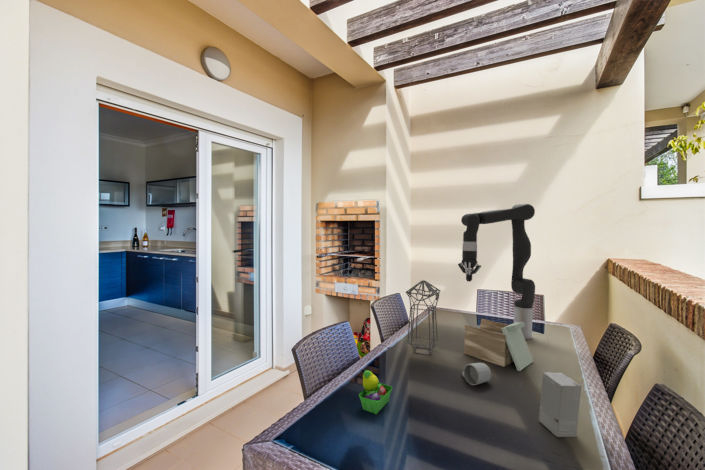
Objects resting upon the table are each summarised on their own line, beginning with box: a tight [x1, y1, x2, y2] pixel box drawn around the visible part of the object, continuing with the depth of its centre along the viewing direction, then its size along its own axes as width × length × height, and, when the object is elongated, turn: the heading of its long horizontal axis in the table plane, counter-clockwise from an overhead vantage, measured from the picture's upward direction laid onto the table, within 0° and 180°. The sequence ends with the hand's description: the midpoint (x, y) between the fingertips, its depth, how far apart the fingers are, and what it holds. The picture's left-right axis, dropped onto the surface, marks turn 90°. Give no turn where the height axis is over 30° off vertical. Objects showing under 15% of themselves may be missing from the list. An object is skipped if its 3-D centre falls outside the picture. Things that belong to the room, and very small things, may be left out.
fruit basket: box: [358, 369, 393, 415], centre depth 107 cm, size 11×9×11 cm
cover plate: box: [501, 322, 534, 372], centre depth 140 cm, size 15×18×5 cm
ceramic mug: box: [462, 362, 492, 386], centre depth 125 cm, size 11×8×8 cm
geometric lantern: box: [405, 279, 441, 356], centre depth 155 cm, size 16×16×35 cm
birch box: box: [463, 318, 514, 368], centre depth 151 cm, size 17×19×14 cm
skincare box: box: [538, 371, 582, 438], centre depth 95 cm, size 8×7×16 cm
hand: (468, 281), depth 172 cm, fingers closed
